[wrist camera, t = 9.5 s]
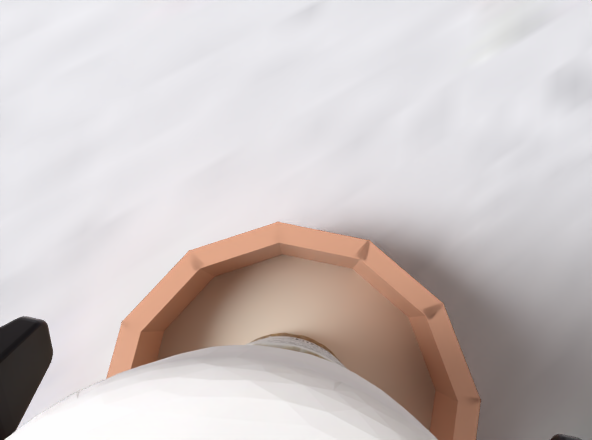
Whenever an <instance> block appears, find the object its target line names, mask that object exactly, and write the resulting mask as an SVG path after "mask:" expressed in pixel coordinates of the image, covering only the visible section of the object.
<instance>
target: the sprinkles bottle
mask: <svg viewBox="0 0 592 440" xmlns="http://www.w3.org/2000/svg"><path fill="white" fill-rule="evenodd" d="M5 440H438V439H437V438H436V437H435V436H434V435H433V434H432V433H431V432H430V431H428V430H427V429H426V428H425V427H424V426H423V425H422V424H421V423H420V422H419V421H418V420H417V419H416V418H415V417H413V416H412V415H411V414H410V413H409V412H408V411H407V410H406V409H404V408H403V407H402V406H401V405H400V404H398V403H397V402H396V401H395V400H393V399H392V398H391V397H390V396H389V395H387V394H386V393H385V392H384V391H382V390H381V389H379V388H378V387H376V386H375V385H373V384H371V383H370V382H368V381H367V380H365V379H364V378H362V377H360V376H359V375H357V374H356V373H354V372H352V371H350V370H348V369H347V368H346V367H345V366H344V365H343V364H342V363H341V361H340V360H339V359H338V358H337V357H336V356H335V355H334V353H333V352H332V351H331V350H329V349H328V348H327V347H326V346H324V345H323V344H321V343H318V342H317V341H315V340H314V339H311V338H309V337H306V336H303V335H295V334H288V333H277V334H270V335H266V336H263V337H260V338H257V339H255V340H253V341H251V342H250V343H248V344H246V345H228V346H215V347H209V348H204V349H200V350H195V351H190V352H186V353H181V354H178V355H174V356H171V357H168V358H165V359H161V360H158V361H155V362H152V363H148V364H145V365H142V366H139V367H136V368H133V369H130V370H127V371H124V372H121V373H118V374H116V375H114V376H112V377H109V378H107V379H105V380H103V381H100V382H98V383H96V384H93V385H91V386H89V387H87V388H84V389H82V390H80V391H78V392H76V393H73V394H71V395H70V396H68V397H66V398H65V399H63V400H61V401H60V402H58V403H57V404H55V405H53V406H52V407H50V408H48V409H47V410H45V411H44V412H42V413H40V414H39V415H37V416H36V417H34V418H33V419H31V420H30V421H28V422H27V423H26V424H24V425H23V426H22V427H20V428H19V429H18V430H16V431H15V432H14V433H12V434H11V435H10V436H9V437H7V438H6V439H5Z"/></svg>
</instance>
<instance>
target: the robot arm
mask: <svg viewBox="0 0 592 440" xmlns="http://www.w3.org/2000/svg"><path fill="white" fill-rule="evenodd" d="M52 356H53V349H52V344H51V339H50V334H49V329H48V325H47V323H46V322H45V321H44V320H41V319H36V318H32V317H27V316H23V317H19V318H17V319H15V320H13V321H11V322H9V323H7V324H6V325H4V326H2V327H0V440H5V439H6V438H7V437H9V436H10V435H11V434H12V433H14V432H15V431H16V429H17V427H18V425H19V423H20V421H21V419H22V418H23V416H24V414H25V412H26V410H27V408H28V406H29V404H30V402H31V400H32V398H33V396H34V394H35V392H36V390H37V388H38V387H39V385H40V383H41V381H42V379H43V377H44V375H45V373H46V371H47V369H48V367H49V365H50V363H51V360H52ZM551 440H582V439H579V438H576V437H572V436H567V435H563V434H557V435H554V436H553V437H552V438H551Z"/></svg>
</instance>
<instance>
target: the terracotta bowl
mask: <svg viewBox="0 0 592 440" xmlns="http://www.w3.org/2000/svg"><path fill="white" fill-rule="evenodd" d="M121 323H122V324H121V327H120V331H119V334H118V338H117V342H116V345H115V349H114V352H113V356H112V360H111V363H110V367H109V371H108V374H107V378H109V377H112V376H114V375H116V374H118V373H121V372H124V371H127V370H130V369H133V368H136V367H139V366H142V365H145V364H148V363H152V362H155V361H158V360H161V359H165V358H168V357H171V356H174V355H178V354H181V353H186V352H190V351H195V350H200V349H204V348H209V347H215V346H228V345H246V344H248V343H250V342H251V341H253V340H255V339H257V338H260V337H263V336H266V335H270V334H277V333H288V334H295V335H303V336H306V337H309V338H311V339H314V340H315V341H317V342H318V343H321V344H323V345H324V346H326V347H327V348H328V349H329V350H331V351H332V352H333V353H334V355H335V356H336V357H337V358H338V359H339V360H340V361H341V363H342V364H343V365H344V366H345V367H346V368H347V369H348V370H350V371H352V372H354V373H356V374H357V375H359V376H360V377H362V378H364V379H365V380H367V381H368V382H370V383H371V384H373V385H375V386H376V387H378V388H379V389H381V390H382V391H384V392H385V393H386V394H387V395H389V396H390V397H391V398H392V399H393V400H395V401H396V402H397V403H398V404H400V405H401V406H402V407H403V408H404V409H406V410H407V411H408V412H409V413H410V414H411V415H412V416H413V417H415V418H416V419H417V420H418V421H419V422H420V423H421V424H422V425H423V426H424V427H425V428H426V429H427V430H428V431H430V432H431V433H432V434H433V435H434V436H435V437H436V438H437V439H438V440H476V435H477V427H478V419H479V411H480V403H481V399H480V397H479V394H478V392H477V389H476V386H475V384H474V381H473V379H472V376H471V374H470V371H469V368H468V366H467V363H466V361H465V358H464V355H463V353H462V350H461V348H460V345H459V343H458V340H457V337H456V335H455V332H454V330H453V327H452V325H451V322H450V319H449V317H448V314H447V312H446V309H445V307H444V304H443V302H441V301H440V300H439V299H437V298H436V297H435V296H434V295H433V294H432V293H430V292H429V291H428V290H427V289H426V288H425V287H423V286H422V285H421V284H420V283H419V282H418V281H416V280H415V279H414V278H413V277H412V276H410V275H409V274H408V273H407V272H406V271H405V270H403V269H402V268H401V267H400V266H399V265H398V264H396V263H395V262H394V261H393V260H392V259H391V258H389V257H388V256H387V255H386V254H385V253H384V252H382V251H381V250H380V249H379V248H378V247H376V246H375V245H374V244H373V243H372V242H371V241H370V240H365V239H360V238H355V237H350V236H345V235H340V234H335V233H330V232H325V231H320V230H315V229H310V228H305V227H300V226H296V225H291V224H286V223H281V222H276V223H273V224H270V225H267V226H264V227H261V228H258V229H255V230H251V231H248V232H245V233H242V234H239V235H236V236H233V237H230V238H227V239H224V240H221V241H218V242H215V243H211V244H208V245H205V246H202V247H199V248H196V249H193V250H189V251H188V252H187V253H186V254H185V256H184V257H183V258H182V259H181V260H180V261H179V262H178V263H177V264H176V265H175V266H174V267H173V268H172V269H171V270H170V271H169V273H168V274H167V275H166V276H165V277H164V278H163V279H162V280H161V281H160V282H159V283H158V284H157V285H156V286H155V287H154V288H153V289H152V291H151V292H150V293H149V294H148V295H147V296H146V297H145V298H144V299H143V300H142V301H141V302H140V303H139V304H138V305H137V306H136V307H135V309H134V310H133V311H132V312H131V313H130V314H129V315H128V316H127V317H126V318H125V319H124V320H123V321H122V322H121ZM107 378H106V379H107Z"/></svg>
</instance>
